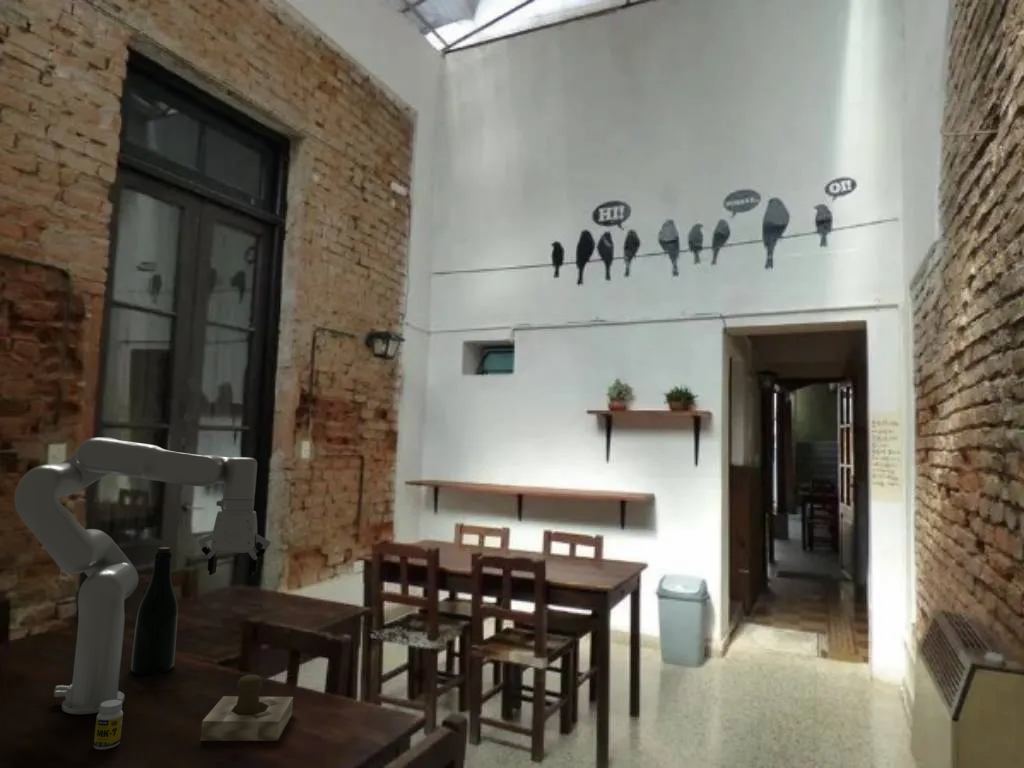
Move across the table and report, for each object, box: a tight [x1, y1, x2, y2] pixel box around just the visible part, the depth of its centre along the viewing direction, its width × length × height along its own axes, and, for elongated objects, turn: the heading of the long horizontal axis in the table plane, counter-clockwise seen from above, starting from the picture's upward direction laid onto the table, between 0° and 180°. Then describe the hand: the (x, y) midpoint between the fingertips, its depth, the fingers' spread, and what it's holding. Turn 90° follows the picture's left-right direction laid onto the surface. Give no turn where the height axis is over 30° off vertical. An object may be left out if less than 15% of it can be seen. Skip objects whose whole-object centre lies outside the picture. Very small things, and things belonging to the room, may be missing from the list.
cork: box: [235, 674, 263, 715], centre depth 149 cm, size 6×6×11 cm
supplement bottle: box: [93, 700, 124, 751], centre depth 137 cm, size 5×5×8 cm
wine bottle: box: [130, 546, 179, 676], centre depth 183 cm, size 10×10×33 cm
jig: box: [199, 695, 294, 742], centre depth 148 cm, size 16×14×4 cm
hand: (232, 574), depth 166 cm, fingers open, 9 cm apart
